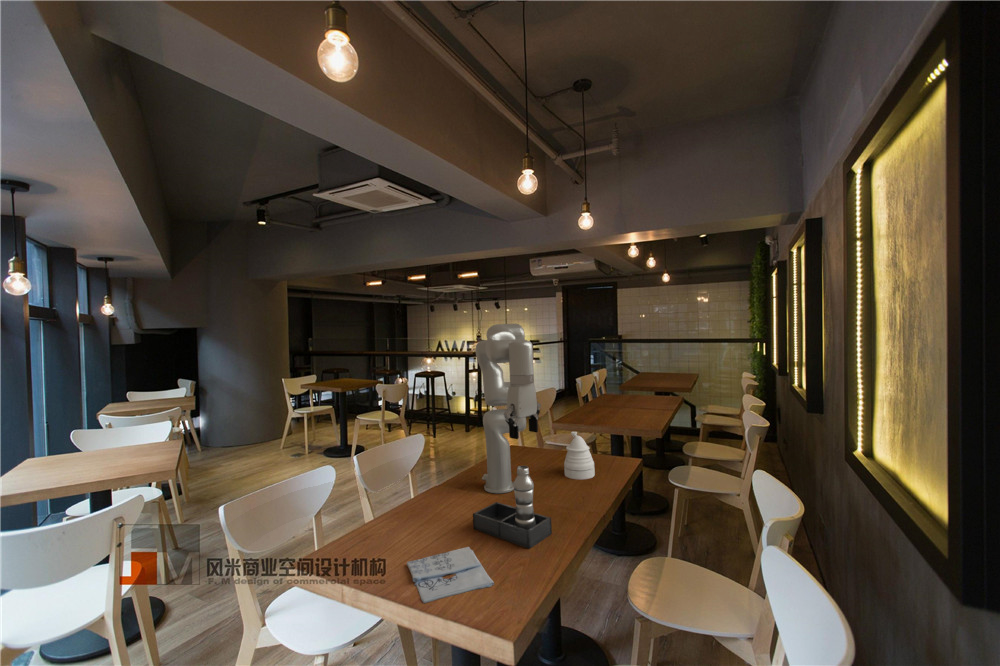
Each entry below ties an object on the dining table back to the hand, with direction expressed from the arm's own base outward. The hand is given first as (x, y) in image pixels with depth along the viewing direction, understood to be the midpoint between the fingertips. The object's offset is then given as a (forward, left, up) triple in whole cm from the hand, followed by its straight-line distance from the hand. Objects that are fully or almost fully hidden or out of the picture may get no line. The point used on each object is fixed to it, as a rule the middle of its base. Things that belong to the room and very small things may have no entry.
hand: (524, 434), depth 137 cm
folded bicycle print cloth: (-3, -31, -31) cm, 44 cm away
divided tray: (-5, -2, -31) cm, 31 cm away
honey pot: (-15, +57, -31) cm, 66 cm away
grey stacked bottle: (0, -2, -30) cm, 30 cm away
